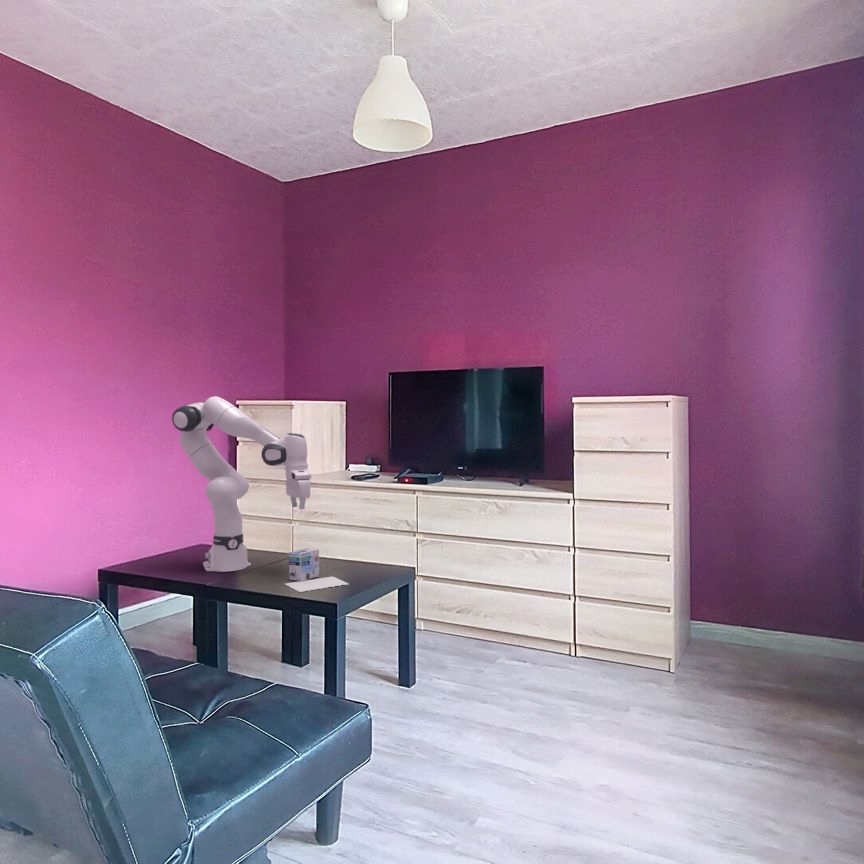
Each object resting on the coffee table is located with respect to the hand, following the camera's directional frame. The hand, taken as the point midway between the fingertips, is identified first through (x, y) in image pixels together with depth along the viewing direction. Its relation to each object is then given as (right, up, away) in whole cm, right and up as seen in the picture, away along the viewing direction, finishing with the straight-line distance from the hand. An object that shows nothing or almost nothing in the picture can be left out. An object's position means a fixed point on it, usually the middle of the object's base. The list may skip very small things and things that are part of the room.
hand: (298, 508), depth 265 cm
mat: (+10, -27, -15) cm, 33 cm away
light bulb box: (+4, -27, -6) cm, 28 cm away
